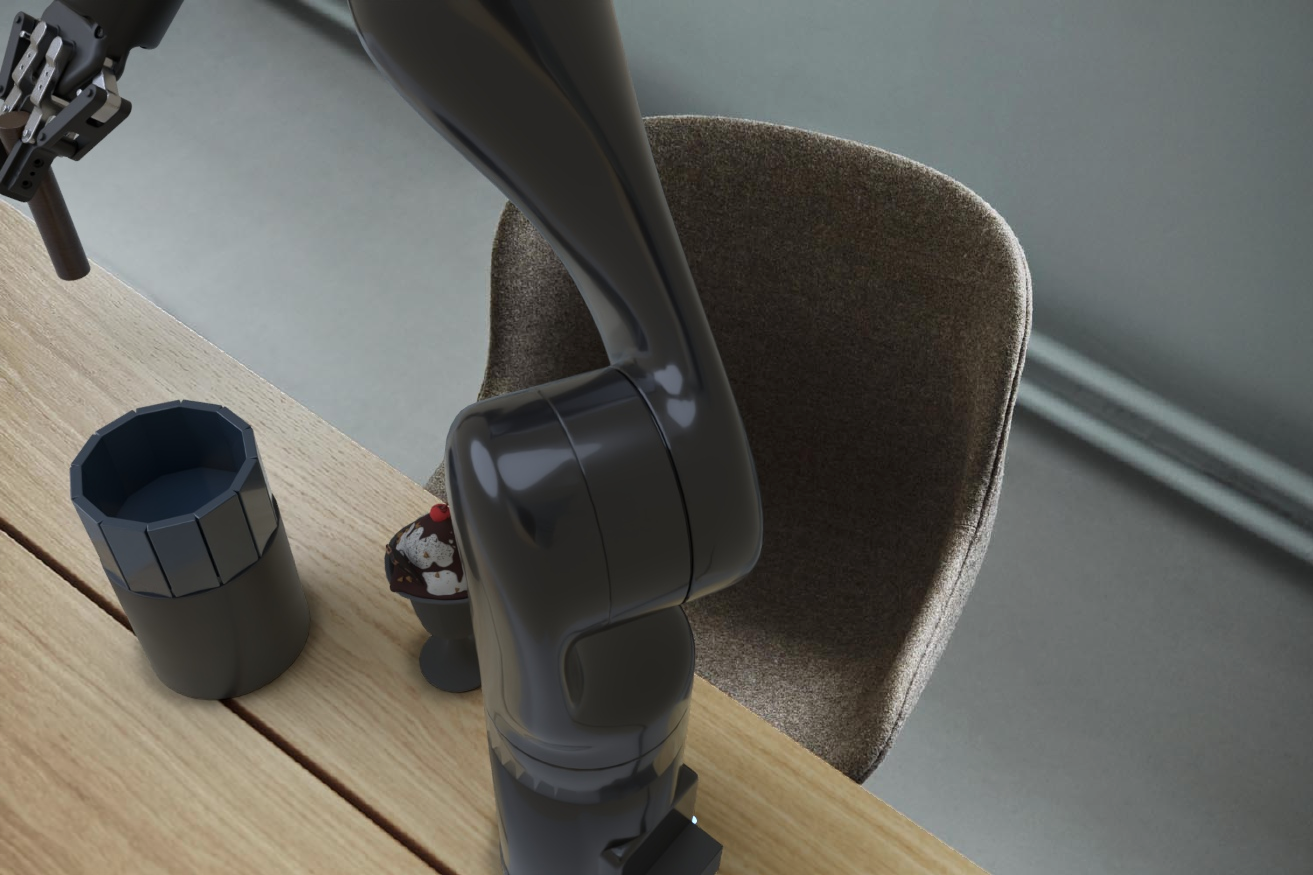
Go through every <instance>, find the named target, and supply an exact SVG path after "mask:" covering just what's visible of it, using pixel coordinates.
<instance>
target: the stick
mask: <svg viewBox="0 0 1313 875" xmlns="http://www.w3.org/2000/svg"><path fill="white" fill-rule="evenodd" d="M30 115H31V114H29V113H28V112H25V111H11V112H7V113H4V114H2V115H0V139H1V141H2V143H3V146H4V148H5V151H6V153H7V155H8V156H9V154H10V153H11V151H12V149H13V147H14V145H15V144H16V142H17V140H18V138H19V139H22V132H23V130H24V128H25V126H26V124H27V122H28V120H29V117H30ZM26 203H27V205H28V208H29V210H30V213H31V215H32V217H33V220H34V222H35V225H36V227H37V230H38V232H39V235H40V237H41V239H42V242H43V244H44V247H45V249H46V251H47V254H48V256H49V259H50V261H51V264H52V266H53V268H54V270H55V273H56V275H57V277H58V278H59V279H60V280H62V281H66V282H73V281H78V280H81V279H83V278H85V277H87V276H88V274H90V273H91V268H92V267H91V264H90V262H89V259H88V257H87V255H86V251H85V249H84V247H83V244H82V241H81V239H80V236H79V233H78V232H77V228H76V225H75V223H74V221H73V218H72V215H71V213H70V210H69V208H68V206H67V203H66V199H65V198H64V195H63V192H62V190H61V188H60V184H59V182H58V179H57V176H56V174H55V172H54V169H53V167H52V165H51V166H50V168H49V169H48V171H47V173H46V175H45V176H44V178H43V180H42V182H41V184H40V185H39V187H38V189H37V191H36V192H35V194H34V196H33V198H32V199H31V200H30V201H29V202H26Z"/></svg>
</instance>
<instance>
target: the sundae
mask: <svg viewBox="0 0 1313 875" xmlns="http://www.w3.org/2000/svg"><path fill="white" fill-rule="evenodd" d="M383 561H384V562H383V563H384V572H385V577H386V580H387V582H388V584H389V590H390V592H391V593H396V594H397V595H399V596H400V597H402V598H404V599H407V600H409V601H410V603H411V606H412V608H413V611H414V613H415V615H416V617H417V618H418V620H419V622H420V624H421V625H422V627H423V628H424V630H426V632H427V633H428V634H430V636H429V638H428V639H427V640H426V641H425V642H424V644H423V645H422V648H421V650H420V654H419V661H418V662H419V667H420V671H421V674H422V675H423V677H424V678H425V679H426V681H427V682H428V683H429V684H430V685H432V686H434V687H435V688H437V689H439V690H442V691H445V692H450V693H463V692H468V691H472V690H475V689H477V688H479V687H481V677H480V669H479V662H478V656H477V651H476V645H475V640H474V634H473V627H472V620H471V613H470V606H469V599H468V593H467V588H466V583H465V578H464V573H463V568H462V564H461V560H460V555H459V551H458V547H457V543H456V538H455V534H454V530H453V525H452V521H451V516H450V510H449V504H448V501H447V502H446V503H436V504H434V505H432V506H431V508H430V511H429V512H427V513H424V514H423V515H420V516H419V517H418V518H416V520H414V521H412V522H410V523H409V524H407V525H405V526H403V527H402V528H401V529H400V530H399V531H397V532H396V533H395V534H394V535H393V536H392V537H391V539H390V540H389V542H388V543H386V544H385V554H384V558H383Z"/></svg>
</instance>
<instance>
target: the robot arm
mask: <svg viewBox="0 0 1313 875" xmlns="http://www.w3.org/2000/svg"><path fill="white" fill-rule="evenodd" d="M184 1H185V0H52V2H50V4H49V5H48V6H47V7H46V8H45V9H44V10H43V12H42V14H41V16H40V17H34V16H33V15H30V14H28V13H27V12H25V11H22V10H20V11H18V12H17V13H16V14H15V16H14V17H13V20H12V24H11V30H10V33H9V36H8V40H7V44H6V48H5V52H4V56H3V60H2V64H1V68H0V100H1V101H3V104H2V105H1V107H0V115H2V114H4V113H7V112H11V111H25V112H28V113H29V114H31V115H30V117H29V120H28V122H27V124H26V126H25V128H24V130H23V132H22V139H19V138H18V140H17V142H16V144H15V145H14V147H13V149H12V151H11V153H10V154H9V156H8V155H7V153H6V151H5V148H4V146H3V143H2V141H1V139H0V195H1V196H3V197H5V198H9V199H11V200H15V201H17V202H20V203H27V202H29V201H30V200H31V199H32V198H33V196H34V194H35V192H36V191H37V189H38V187H39V185H40V184H41V182H42V180H43V178H44V176H45V175H46V173H47V171H48V169H49V168H50V166H51V167H52V164H53V163H54V160H55V159H56V158H57V157H58V158H67V159H69V160H72V161H74V162H80V160H82V159H83V158H84V157H85V156H86V155H87V154H88V153H90V152H91V151H92V150H93V149H94V148H95V147H96V146H97V145H99V144H100V143H101V142H102V141H103V140H104V139H105V138H106V137H108V135H110V134H111V133H112V132H113V131H114V130H115V129H116V128H118V127H119V126H120V125H121V124H122V123H123V122H124V121H125V120H126V119H127V118H128V117H129V116H130V115H131V112H132V109H133V104H132V102H131V101H130V100H128V99H127V98H123V97H121V95H119V90H118V83H117V82H118V81H119V80H120V79H121V78H122V77H123V75H124V72H125V69H126V64H127V61H128V58H129V55H130V53H131V51H132V50H133V49H135V48H141V49H142V50H147V51H149V50H155V49H156V48H158V47H159V46H160V44H161V42H162V40H163V39H164V38H165V35H166V33H167V32H168V30H169V28H170V26H171V25H172V23H173V21H174V19H175V17H177V16H176V15H177V14H178V12H179V10H180V9H181V7H182V5H183V3H184ZM346 4H347V7H348V11H349V14H350V17H351V21H352V24H353V27H354V30H355V32H356V34H357V37H358V40H359V41H360V43H361V46H362V47H363V50H364V51H365V53H366V54H367V55H368V57H369V58H370V60H371V61H372V63H373V64H374V66H375V67H376V68H377V69H378V71H379V72H380V73H381V75H382V76H383V78H384V79H385V80H386V81H387V82H388V84H389V85H390V86H391V87H392V89H394V91H395V92H396V93H397V94H398V95H399V96H400V97H401V99H402V100H403V101H404V103H406V104H407V105H408V106H409V107H410V108H411V109H412V110H413V111H414V112H415V113H416V114H417V115H418V116H419V117H420V118H421V119H422V120H423V121H424V122H425V123H426V124H427V125H428V126H429V127H430V128H431V129H432V130H433V131H434V132H435V133H436V134H437V135H439V136H440V137H441V138H442V139H443V140H444V141H445V142H446V143H447V144H448V145H449V146H450V147H452V148H453V149H454V150H455V151H456V152H457V153H458V154H459V155H460V156H461V157H463V159H464V160H466V162H468V163H469V164H470V165H471V166H472V167H473V168H475V169H476V170H477V171H478V172H479V173H480V174H481V175H482V176H483V177H485V178H486V179H487V181H489V182H490V183H491V184H492V185H493V186H494V187H495V188H497V190H499V192H501V193H502V194H503V196H504V197H506V198H507V200H508V201H509V202H511V204H512V205H513V206H514V207H516V208H517V209H518V210H519V211H520V212H521V213H522V215H523V216H524V217H525V218H526V219H527V220H528V221H529V223H530V224H531V225H532V226H533V227H534V228H535V229H536V230H537V232H538V233H539V235H541V236H542V238H543V239H544V240H545V242H546V243H547V244H548V246H549V247H550V248H551V249H552V251H553V252H554V254H555V255H556V256H557V258H558V260H560V262H561V263H562V265H563V267H564V268H565V270H566V271H567V273H568V274H569V276H570V278H571V279H572V281H573V282H574V284H575V286H576V288H577V290H578V292H579V294H580V295H581V298H582V299H583V302H584V303H585V305H586V307H587V308H588V311H589V313H590V316H591V318H592V321H593V322H594V324H595V327H596V329H597V331H598V334H599V336H600V339H601V342H602V344H603V346H604V349H605V353H606V356H607V359H608V363H609V365H608V366H604V367H603V366H602V367H599V368H596V369H592V370H588V371H585V372H581V373H576V374H574V375H568V376H566V377H563V378H558V379H554V380H551V381H547V382H543V383H539V384H537V385H533V386H528V387H526V388H522V389H519V390H514V391H511V392H507V393H503V394H500V395H496V396H492V397H489V398H486V399H482V400H479V401H476V402H473V403H471V404H468V405H467V406H466V407H464V408H463V409H461V410H460V411H459V412H458V414H457V415H456V416H455V417H454V419H453V421H452V422H451V425H450V426H449V429H448V432H447V434H446V435H447V436H446V438H445V445H444V446H445V447H444V453H443V465H444V467H443V468H444V486H445V493H446V497H447V502H448V504H449V505H448V507H449V510H450V516H451V521H452V525H453V530H454V534H455V538H456V543H457V547H458V551H459V555H460V560H461V564H462V568H463V573H464V578H465V583H466V588H467V593H468V599H469V606H470V613H471V620H472V627H473V634H474V640H475V645H476V651H477V656H478V662H479V669H480V677H481V686H480V687H481V693H482V703H483V710H484V718H485V726H486V738H487V745H488V754H489V760H490V762H489V763H490V769H491V777H492V778H491V779H492V786H493V794H494V802H495V809H496V810H495V811H496V818H497V828H498V834H499V856H500V863H501V864H500V865H501V870H502V874H503V875H716V873H718V871H719V870H720V865H721V860H722V855H723V849H724V845H723V844H722V843H721V842H719V841H718V840H716V839H715V838H714V837H713V836H712V835H710V834H709V833H708V832H706V831H705V830H704V829H702V828H701V827H700V826H698V825H697V824H696V823H697V821H698V820H697V818H696V817H695V815H694V814H695V809H696V802H697V795H698V789H699V780H700V777H699V774H698V772H697V771H695V770H694V769H693V768H692V767H690V766H689V765H687V764H686V763H684V760H685V751H686V743H687V734H688V727H689V720H690V712H691V711H690V710H691V703H692V694H693V687H694V680H695V673H696V672H695V671H696V643H695V642H696V641H695V637H694V633H693V630H692V626H691V624H690V621H689V618H688V616H687V614H686V611H685V610H684V608H683V606H682V605H684V604H686V603H691V602H693V601H697V600H699V599H701V598H705V597H707V596H709V595H712V594H715V593H718V592H720V591H723V590H725V589H727V588H730V587H732V586H734V585H736V584H737V583H740V582H742V581H743V580H745V579H746V578H747V577H748V576H749V575H750V574H751V573H753V571H754V570H755V568H756V567H757V565H758V563H759V560H760V558H761V555H762V550H763V546H764V540H765V515H764V514H765V513H764V503H763V497H762V489H761V488H762V487H761V483H760V478H759V474H758V469H757V464H756V460H755V457H754V453H753V450H752V446H751V443H750V442H751V441H750V440H749V439H750V438H749V435H748V432H747V428H746V425H745V421H744V418H743V416H742V413H741V409H740V406H739V404H738V400H737V397H736V394H735V391H734V388H733V385H732V381H731V380H730V377H729V376H730V375H729V373H728V370H727V367H726V365H725V362H724V359H723V356H722V354H721V351H720V348H719V345H718V343H717V339H716V337H715V334H714V331H713V328H712V325H711V322H710V320H709V317H708V315H707V311H706V309H705V306H704V303H703V300H702V297H701V294H700V293H699V289H698V286H697V283H696V281H695V278H694V275H693V272H692V269H691V267H690V264H689V261H688V258H687V255H686V252H685V249H684V247H683V244H682V240H681V238H680V235H679V232H678V229H677V226H676V224H675V220H674V218H673V215H672V212H671V210H670V206H669V202H668V200H667V196H666V194H665V191H664V188H663V185H662V181H661V178H660V175H659V171H658V169H657V165H656V162H655V159H654V154H653V152H652V149H651V145H650V144H651V143H650V141H649V138H648V134H647V130H646V127H645V124H644V119H643V115H642V112H641V108H640V105H639V100H638V98H637V93H636V90H635V85H634V82H633V78H632V74H631V69H630V67H629V66H630V65H629V62H628V59H627V58H628V57H627V54H626V51H625V46H624V43H623V39H622V34H621V31H620V30H621V29H620V26H619V23H618V18H617V14H616V13H617V12H616V9H615V7H614V5H615V4H614V0H346ZM53 117H54V118H53ZM76 135H77V136H76Z"/></svg>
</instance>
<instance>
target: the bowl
mask: <svg viewBox="0 0 1313 875" xmlns="http://www.w3.org/2000/svg"><path fill="white" fill-rule="evenodd" d="M68 472H69V493H70V496H69V498H70V501H71V503H72V505H73V507H74V510H75V511H76V513H77V515H78V517H79V519H80V521H81V524H82V525H83V527H84V529H85V532H86V534H87V536H88V537H89V539H90V542H91V544H92V545H93V546H92V547H94V549H95V552H96V554H97V556H98V558H99V561H100V560H101V562H102V564H103V566H104V568H105V569H106V570H107V571H109V572H110V573H111V574H112V575H113V576H114V577H115V578H116V579H117V580H118V581H119V582H121V583H122V584H123V585H124V586H125V587H126V588H127V589H128V590H130V589H131V591H133V592H139V593H145V594H151V595H157V596H164V597H170V598H173V596H175V597H180V596H184V595H188V594H192V593H196V592H200V591H204V590H208V589H212V588H216V587H220V584H226V583H227V582H228V581H230V580H231V579H233V578H234V577H235V576H237V575H238V574H239V573H241V572H242V571H244V570H245V569H246V568H248V567H249V566H251V565H252V564H253V563H255V562H256V561H258V557H261V556H262V554H263V553H264V551H265V549H266V547H267V545H268V543H269V541H270V539H271V537H272V535H273V533H274V531H275V529H276V527H277V522H278V521H277V516H276V511H275V506H274V501H273V495H274V494H273V495H272V493H273V491H272V490H271V488H272V487H271V485H270V481H269V479H268V476H267V472H266V469H265V465H264V461H263V458H262V455H261V452H260V448H259V445H258V441H257V438H256V435H255V432H254V428H252V425H251V424H249V423H248V422H247V421H245V420H244V419H243V418H242V417H240V416H239V415H237V414H236V413H235V412H234V411H233V410H231V409H229V407H227V406H225V405H224V406H223V405H222V404H217V403H211V402H204V401H197V400H191V399H181V400H180V399H175V400H170V401H165V402H160V403H155V404H151V405H145V406H142V407H137V408H135V410H134V409H131V410H129V411H128V412H126V413H124V414H123V415H121V416H119V417H117V418H116V419H114V420H112V421H111V422H109V423H107V424H106V425H104V426H102V427H100V428H99V429H97V430H95V431H94V433H92V434H91V435H90V436H89V438H88V439H87V440H86V442H85V443H84V445H83V446H82V448H81V449H80V450H79V451H78V453H77V454H76V456H75V457H74V459H73V460H72V461H71V463H70V467H69V471H68ZM101 562H100V563H101ZM102 564H101V565H102Z"/></svg>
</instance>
